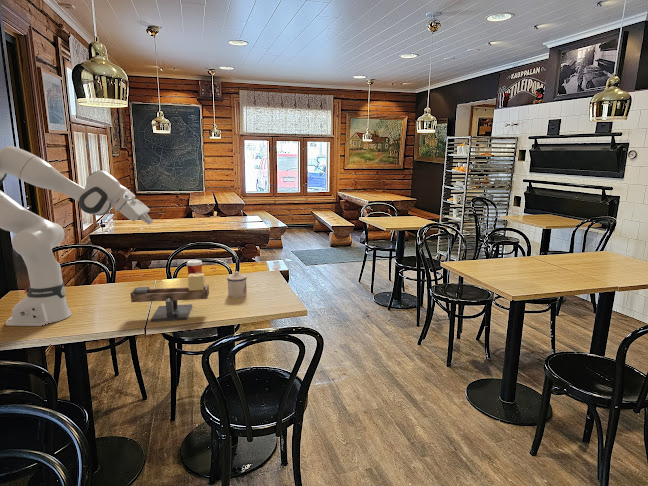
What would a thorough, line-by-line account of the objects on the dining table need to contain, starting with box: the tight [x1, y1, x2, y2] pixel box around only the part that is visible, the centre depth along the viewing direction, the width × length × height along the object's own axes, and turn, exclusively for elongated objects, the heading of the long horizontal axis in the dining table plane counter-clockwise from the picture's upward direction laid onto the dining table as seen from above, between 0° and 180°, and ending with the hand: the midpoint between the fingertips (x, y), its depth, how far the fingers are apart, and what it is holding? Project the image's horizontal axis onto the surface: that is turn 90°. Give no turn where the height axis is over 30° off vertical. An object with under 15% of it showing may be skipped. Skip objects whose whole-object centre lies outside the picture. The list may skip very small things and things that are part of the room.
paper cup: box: [186, 259, 203, 276], centre depth 211 cm, size 8×8×14 cm
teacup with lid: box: [226, 270, 248, 299], centre depth 202 cm, size 12×9×12 cm
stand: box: [150, 297, 193, 323], centre depth 177 cm, size 14×15×9 cm
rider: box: [187, 272, 206, 292], centre depth 177 cm, size 6×4×8 cm
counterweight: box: [135, 286, 151, 294], centre depth 174 cm, size 4×4×3 cm
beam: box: [130, 284, 210, 303], centre depth 176 cm, size 30×7×5 cm, turn 99°
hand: (151, 222), depth 180 cm, fingers closed
